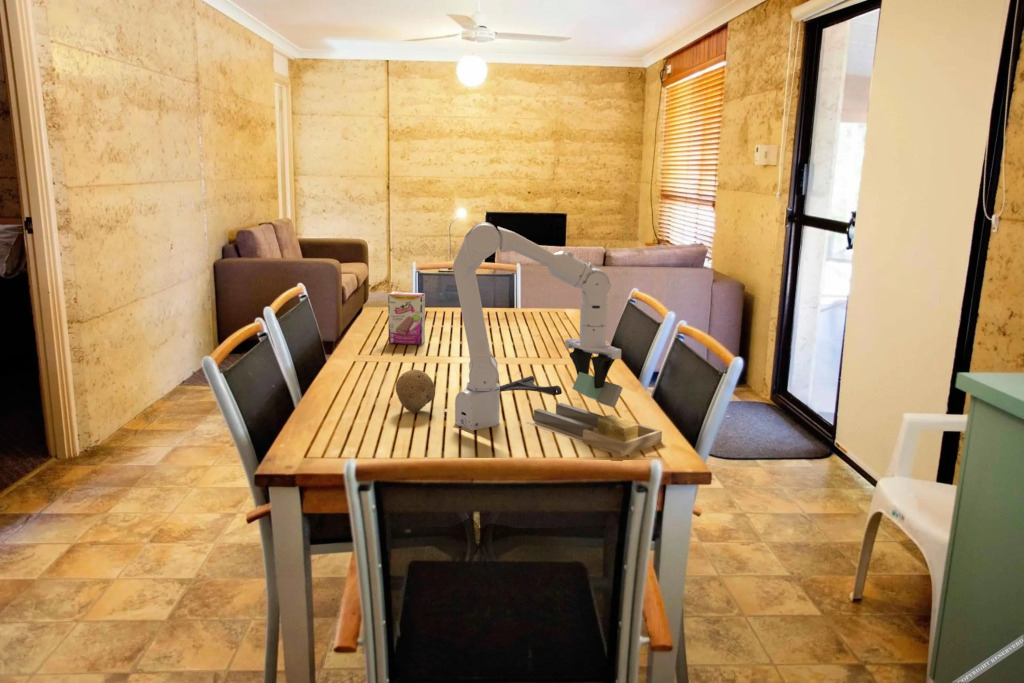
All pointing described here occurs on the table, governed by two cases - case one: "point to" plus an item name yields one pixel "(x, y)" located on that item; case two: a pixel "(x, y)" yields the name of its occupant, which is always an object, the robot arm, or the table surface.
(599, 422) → the golden brown cube
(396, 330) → the candy bar box
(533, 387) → the bracket
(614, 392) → the two-tone l-shaped block
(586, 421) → the slot board
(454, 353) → the table surface
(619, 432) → the yellow cube
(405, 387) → the natural sponge
